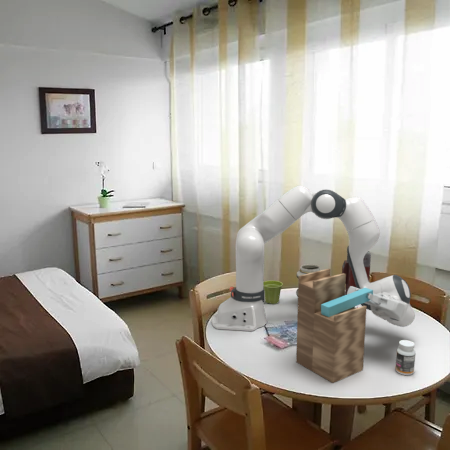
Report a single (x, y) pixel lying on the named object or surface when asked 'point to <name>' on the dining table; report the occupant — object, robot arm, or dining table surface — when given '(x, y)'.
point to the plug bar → (345, 302)
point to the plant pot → (272, 291)
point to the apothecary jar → (307, 271)
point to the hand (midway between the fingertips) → (362, 293)
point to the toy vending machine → (349, 275)
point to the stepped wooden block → (328, 328)
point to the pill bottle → (405, 357)
